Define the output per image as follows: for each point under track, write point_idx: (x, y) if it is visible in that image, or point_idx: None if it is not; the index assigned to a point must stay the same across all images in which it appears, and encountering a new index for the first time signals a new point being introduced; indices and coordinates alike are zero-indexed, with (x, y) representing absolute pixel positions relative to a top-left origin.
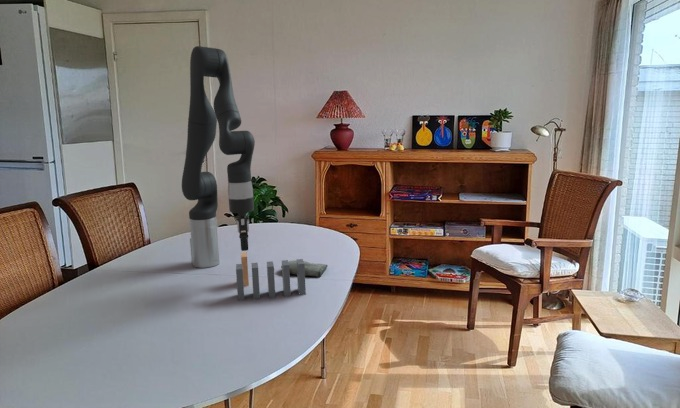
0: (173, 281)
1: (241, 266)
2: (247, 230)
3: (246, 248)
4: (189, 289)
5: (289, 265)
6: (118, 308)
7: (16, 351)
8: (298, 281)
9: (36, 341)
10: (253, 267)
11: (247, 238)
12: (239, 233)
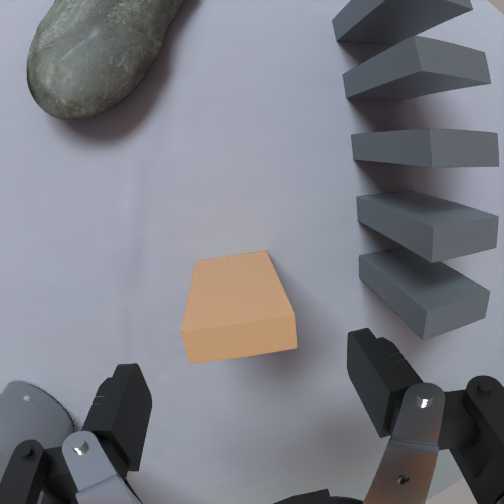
0: (195, 467)
1: (461, 304)
2: (437, 448)
3: (385, 343)
4: (271, 427)
5: (109, 68)
6: (357, 485)
7: (447, 485)
8: (395, 29)
9: (431, 488)
10: (491, 240)
11: (404, 388)
12: (488, 453)
